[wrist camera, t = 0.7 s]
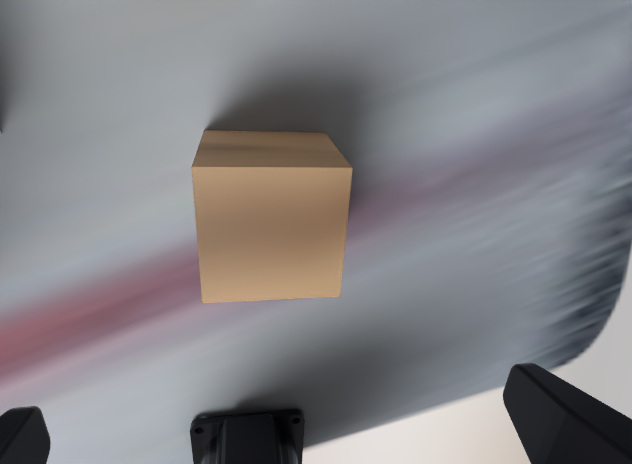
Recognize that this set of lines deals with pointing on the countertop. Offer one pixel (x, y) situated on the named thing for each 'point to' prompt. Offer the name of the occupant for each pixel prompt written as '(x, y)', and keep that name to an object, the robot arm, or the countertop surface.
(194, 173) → the walnut cube
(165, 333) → the countertop surface
